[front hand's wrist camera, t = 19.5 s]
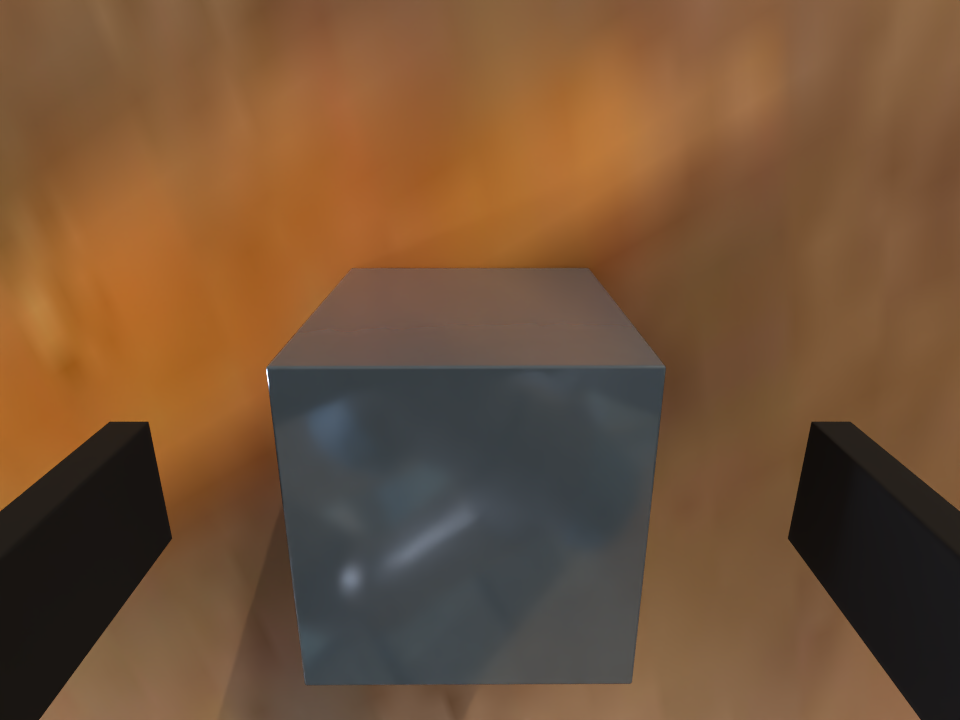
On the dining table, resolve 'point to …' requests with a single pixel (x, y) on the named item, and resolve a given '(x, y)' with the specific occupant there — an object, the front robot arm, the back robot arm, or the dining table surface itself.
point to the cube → (467, 477)
